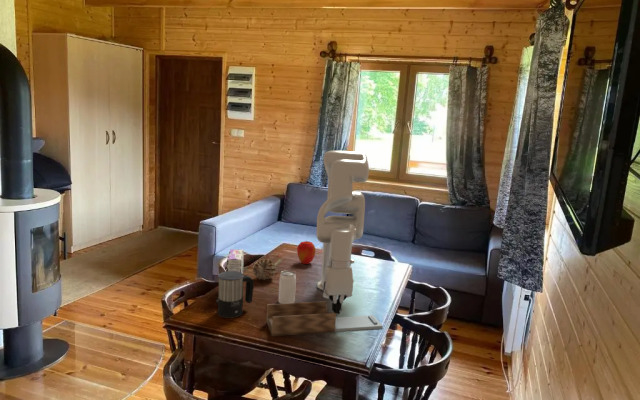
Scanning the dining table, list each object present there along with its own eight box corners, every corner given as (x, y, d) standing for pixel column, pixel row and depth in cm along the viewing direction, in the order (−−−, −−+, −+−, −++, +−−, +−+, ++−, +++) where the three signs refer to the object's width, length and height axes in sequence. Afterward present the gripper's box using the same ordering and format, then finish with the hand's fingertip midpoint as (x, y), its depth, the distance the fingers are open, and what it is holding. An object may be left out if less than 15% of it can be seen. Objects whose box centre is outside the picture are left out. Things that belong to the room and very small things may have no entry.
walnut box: (325, 318, 180) (326, 301, 179) (334, 331, 170) (336, 313, 169) (266, 322, 174) (267, 304, 173) (272, 336, 164) (273, 317, 163)
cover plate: (372, 319, 184) (373, 313, 184) (382, 329, 175) (382, 324, 175) (327, 321, 179) (327, 316, 179) (334, 332, 170) (334, 327, 170)
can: (297, 300, 196) (298, 272, 194) (290, 306, 190) (292, 276, 188) (282, 297, 198) (283, 269, 196) (275, 303, 192) (277, 274, 190)
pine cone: (267, 286, 210) (268, 264, 208) (247, 282, 213) (248, 260, 211) (287, 271, 230) (288, 251, 229) (269, 268, 233) (270, 248, 232)
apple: (312, 267, 239) (313, 243, 237) (294, 264, 241) (295, 241, 239) (316, 261, 248) (317, 238, 246) (299, 259, 250) (300, 236, 248)
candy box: (228, 286, 207) (229, 248, 204) (242, 286, 208) (244, 249, 205) (225, 298, 194) (226, 258, 191) (240, 298, 194) (241, 259, 191)
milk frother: (230, 320, 174) (231, 281, 171) (198, 309, 182) (199, 271, 179) (256, 308, 186) (257, 271, 183) (225, 298, 194) (226, 262, 191)
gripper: (356, 259, 177) (352, 307, 181) (316, 260, 173) (313, 309, 176) (363, 265, 170) (359, 315, 173) (322, 267, 166) (319, 318, 169)
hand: (336, 312), depth 175 cm, fingers closed
